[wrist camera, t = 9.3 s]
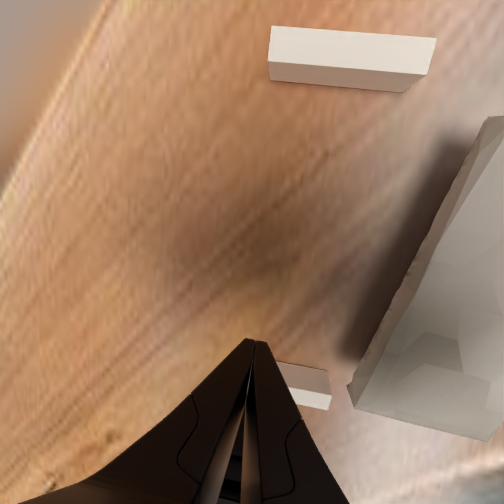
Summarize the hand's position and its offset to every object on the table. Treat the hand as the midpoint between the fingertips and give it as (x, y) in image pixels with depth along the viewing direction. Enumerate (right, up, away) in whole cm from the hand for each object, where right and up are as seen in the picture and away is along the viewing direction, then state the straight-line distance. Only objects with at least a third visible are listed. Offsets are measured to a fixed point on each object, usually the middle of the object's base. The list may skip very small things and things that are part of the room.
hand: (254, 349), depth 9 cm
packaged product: (+8, +2, +6) cm, 11 cm away
